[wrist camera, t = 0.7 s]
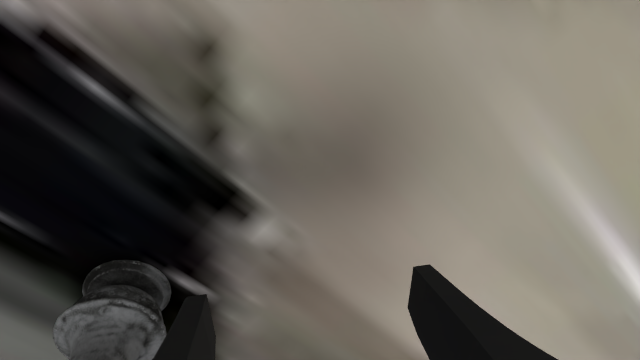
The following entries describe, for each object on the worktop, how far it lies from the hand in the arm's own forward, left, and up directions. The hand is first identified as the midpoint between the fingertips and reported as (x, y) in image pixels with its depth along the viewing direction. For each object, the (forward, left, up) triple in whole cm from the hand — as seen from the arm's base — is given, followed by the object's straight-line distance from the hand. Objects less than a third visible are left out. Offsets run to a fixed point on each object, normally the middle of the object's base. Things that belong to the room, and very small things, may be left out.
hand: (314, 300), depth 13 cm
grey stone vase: (-8, +11, -11) cm, 17 cm away
